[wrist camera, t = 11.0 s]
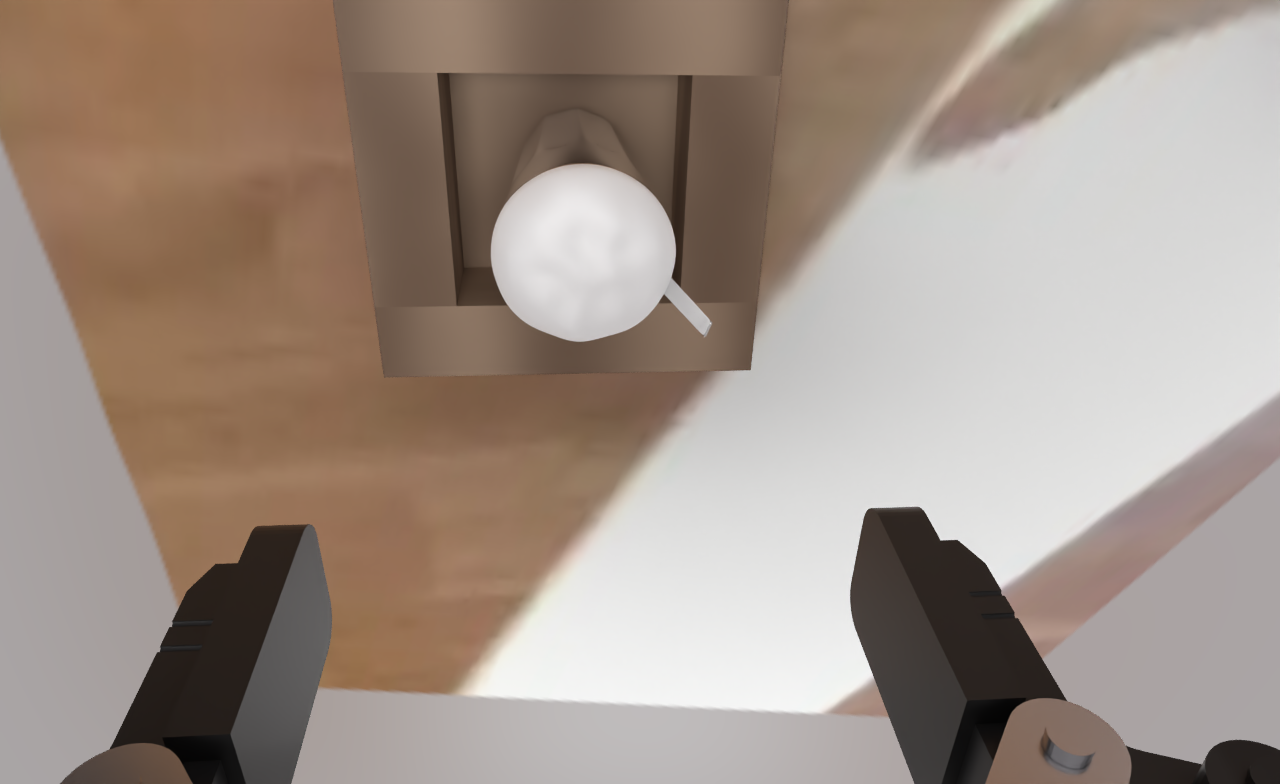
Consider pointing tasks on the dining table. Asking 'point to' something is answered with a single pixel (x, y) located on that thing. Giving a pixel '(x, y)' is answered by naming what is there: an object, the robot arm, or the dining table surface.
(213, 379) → the dining table surface
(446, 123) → the socket block
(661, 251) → the milkshake
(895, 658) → the robot arm
